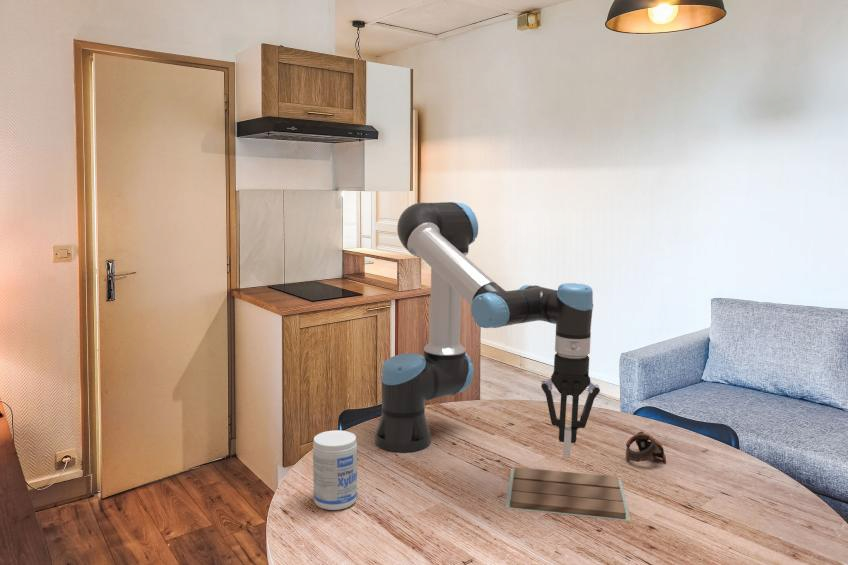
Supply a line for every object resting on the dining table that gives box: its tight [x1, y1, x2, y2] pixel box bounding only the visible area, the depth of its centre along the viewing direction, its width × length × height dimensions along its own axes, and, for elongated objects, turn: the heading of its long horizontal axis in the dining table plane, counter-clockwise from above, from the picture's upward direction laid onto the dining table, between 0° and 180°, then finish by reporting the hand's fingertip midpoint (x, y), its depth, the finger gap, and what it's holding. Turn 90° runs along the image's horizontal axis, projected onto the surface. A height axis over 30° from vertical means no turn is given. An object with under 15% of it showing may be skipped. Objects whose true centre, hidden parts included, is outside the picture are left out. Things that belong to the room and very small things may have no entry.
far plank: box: [513, 466, 620, 489], centre depth 151 cm, size 24×6×1 cm, turn 79°
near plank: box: [512, 479, 623, 502], centre depth 145 cm, size 24×6×1 cm, turn 79°
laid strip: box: [510, 491, 626, 518], centre depth 139 cm, size 24×5×1 cm, turn 79°
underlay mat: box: [505, 469, 632, 522], centre depth 146 cm, size 26×20×1 cm
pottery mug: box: [625, 431, 667, 464], centre depth 165 cm, size 12×10×8 cm
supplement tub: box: [312, 429, 358, 511], centre depth 141 cm, size 10×10×15 cm
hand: (566, 455), depth 145 cm, fingers closed
